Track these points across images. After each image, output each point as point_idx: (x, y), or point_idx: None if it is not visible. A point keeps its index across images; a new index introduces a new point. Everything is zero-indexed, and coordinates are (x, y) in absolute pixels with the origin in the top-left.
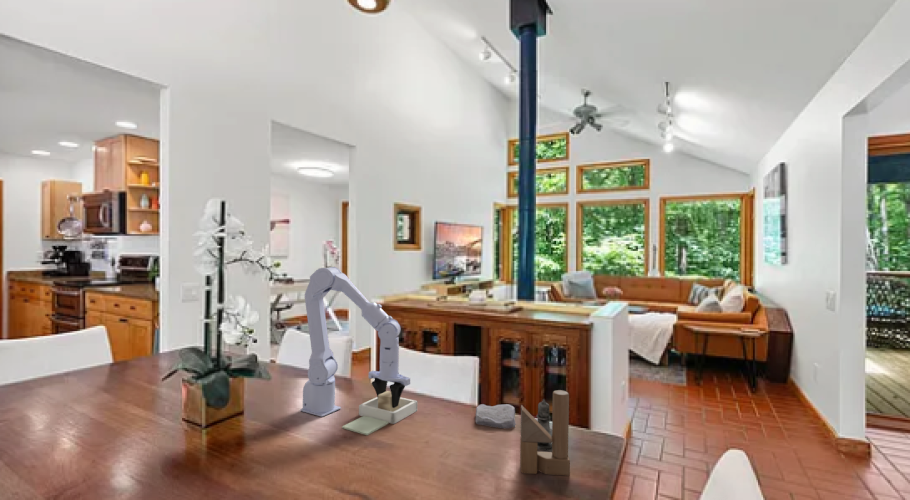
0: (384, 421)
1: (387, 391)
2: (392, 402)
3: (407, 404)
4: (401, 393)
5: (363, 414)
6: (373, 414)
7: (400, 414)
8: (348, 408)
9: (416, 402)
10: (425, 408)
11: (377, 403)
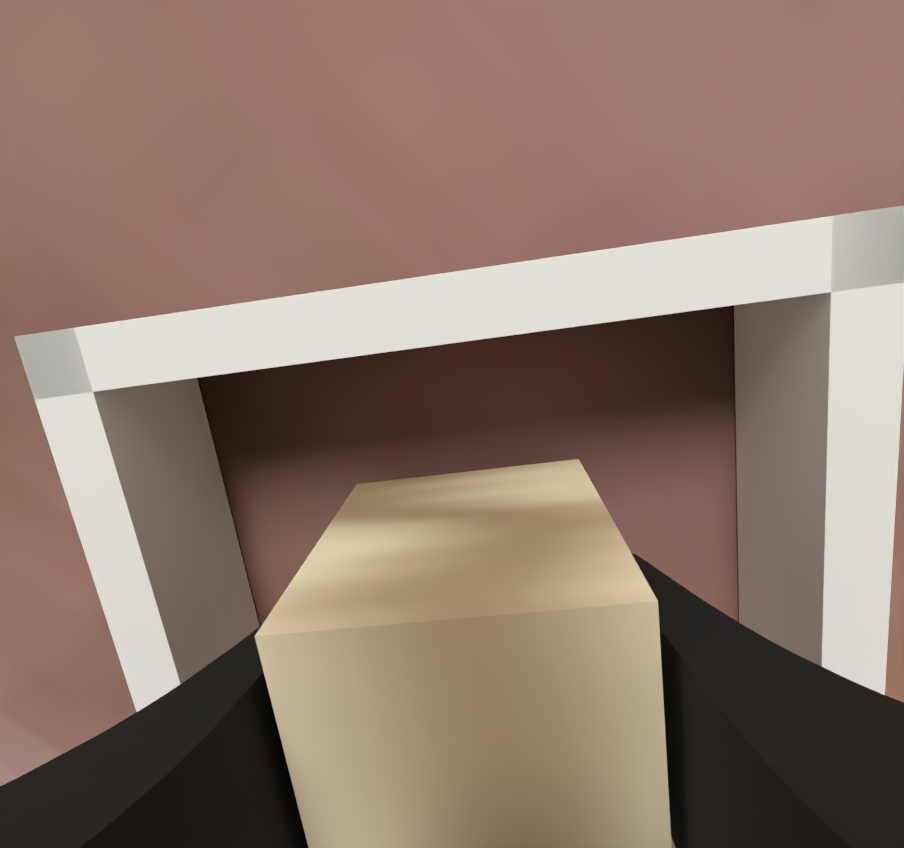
0: None
1: (301, 676)
2: None
3: (833, 496)
4: (819, 674)
5: None
6: None
7: None
8: (4, 722)
9: (895, 249)
10: (852, 39)
11: (201, 552)
